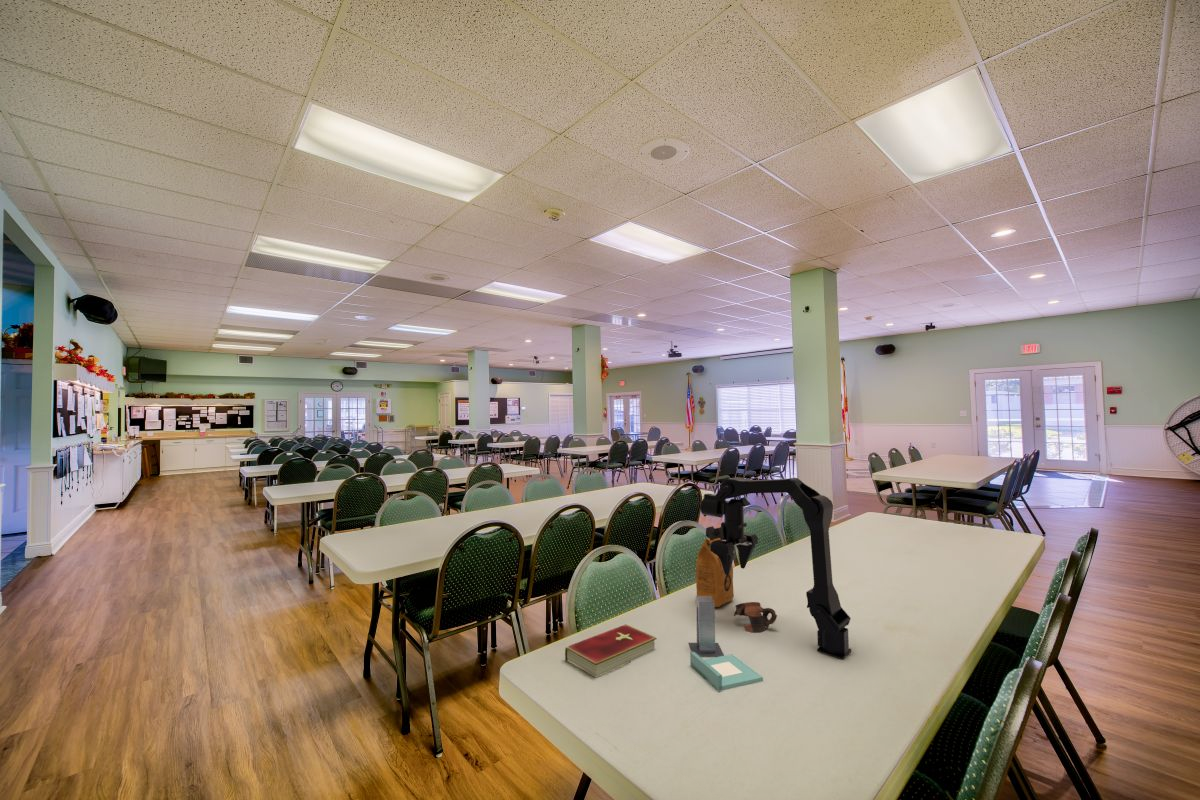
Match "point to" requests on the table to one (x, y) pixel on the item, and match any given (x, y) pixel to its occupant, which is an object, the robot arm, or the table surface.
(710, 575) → the coffee package
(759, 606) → the pottery mug
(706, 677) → the teal base plate
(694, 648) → the mat
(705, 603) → the grey tower block
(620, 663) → the hardcover book
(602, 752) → the table surface
